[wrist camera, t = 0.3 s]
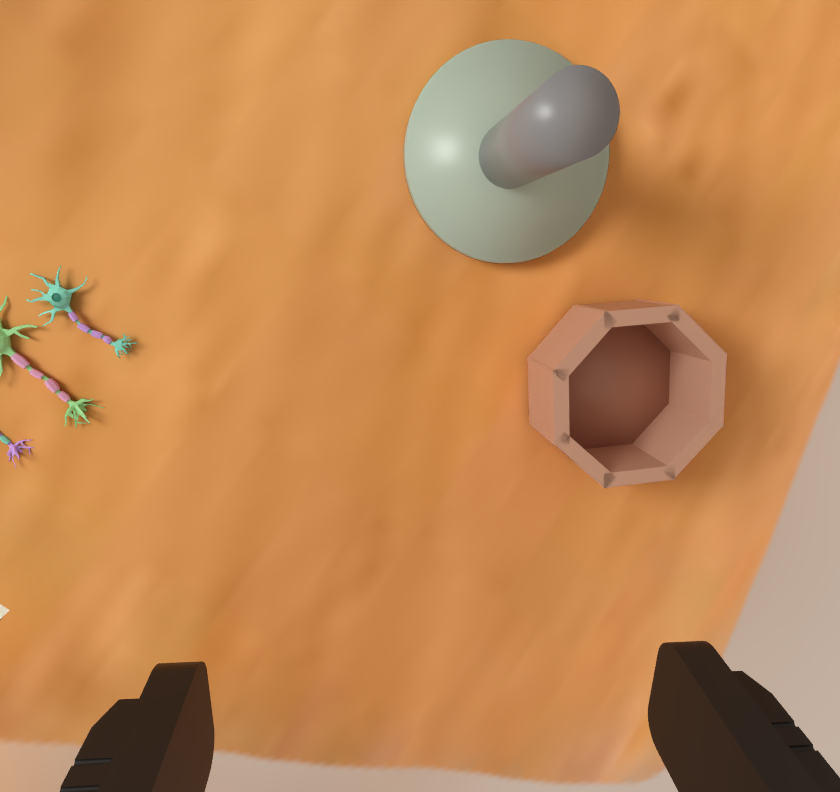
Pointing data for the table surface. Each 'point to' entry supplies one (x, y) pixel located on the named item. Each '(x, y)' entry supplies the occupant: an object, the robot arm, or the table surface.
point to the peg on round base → (509, 149)
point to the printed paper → (60, 301)
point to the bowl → (627, 390)
